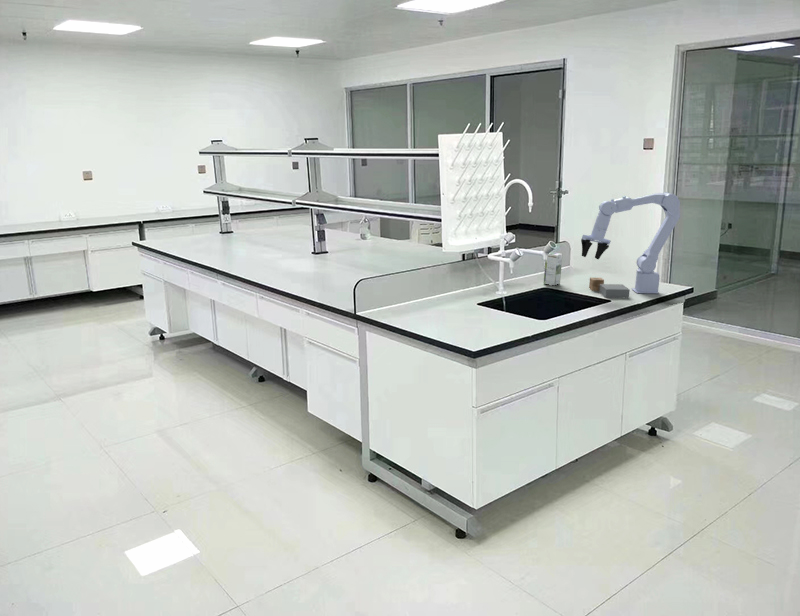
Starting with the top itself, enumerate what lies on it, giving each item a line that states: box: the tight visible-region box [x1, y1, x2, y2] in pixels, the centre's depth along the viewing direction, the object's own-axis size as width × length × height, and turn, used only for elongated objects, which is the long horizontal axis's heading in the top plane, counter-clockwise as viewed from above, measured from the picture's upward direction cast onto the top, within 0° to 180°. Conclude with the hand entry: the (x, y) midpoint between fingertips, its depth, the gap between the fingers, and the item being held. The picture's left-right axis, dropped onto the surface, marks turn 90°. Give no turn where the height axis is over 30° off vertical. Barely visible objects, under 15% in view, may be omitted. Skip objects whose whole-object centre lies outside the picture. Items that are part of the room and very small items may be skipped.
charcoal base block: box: [598, 283, 631, 299], centre depth 279 cm, size 10×10×4 cm
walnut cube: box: [588, 277, 605, 292], centre depth 289 cm, size 5×5×5 cm
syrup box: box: [543, 252, 563, 286], centre depth 297 cm, size 6×6×14 cm
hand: (590, 257), depth 285 cm, fingers open, 7 cm apart
